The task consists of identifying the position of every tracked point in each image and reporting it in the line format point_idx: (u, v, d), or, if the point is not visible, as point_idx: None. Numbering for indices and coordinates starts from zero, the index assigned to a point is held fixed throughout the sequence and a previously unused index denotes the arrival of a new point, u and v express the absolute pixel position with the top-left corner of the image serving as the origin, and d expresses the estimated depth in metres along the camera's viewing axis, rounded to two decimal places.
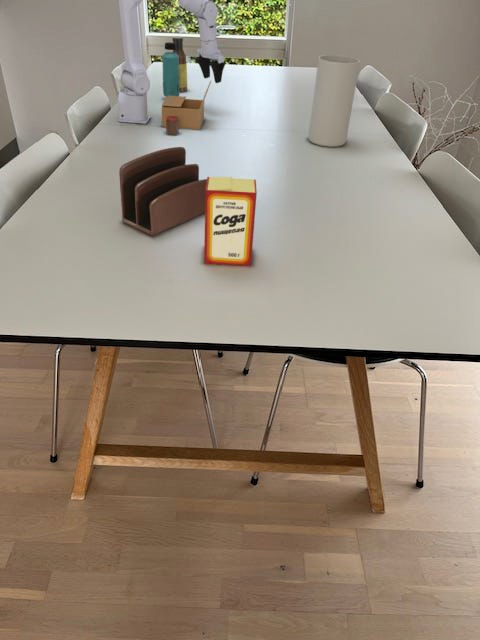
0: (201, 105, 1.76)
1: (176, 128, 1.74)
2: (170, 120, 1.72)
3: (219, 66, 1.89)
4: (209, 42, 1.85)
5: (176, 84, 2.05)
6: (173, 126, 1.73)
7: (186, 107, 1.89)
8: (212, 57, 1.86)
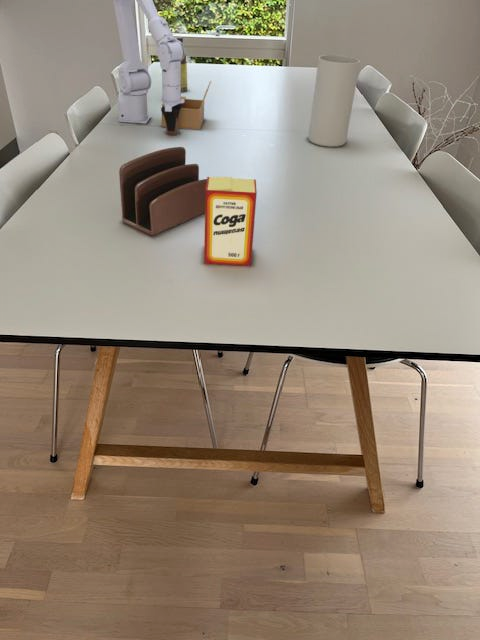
0: (201, 105, 1.76)
1: (176, 128, 1.74)
2: None
3: (172, 114, 1.70)
4: (166, 87, 1.65)
5: None
6: None
7: (186, 107, 1.89)
8: (164, 103, 1.66)
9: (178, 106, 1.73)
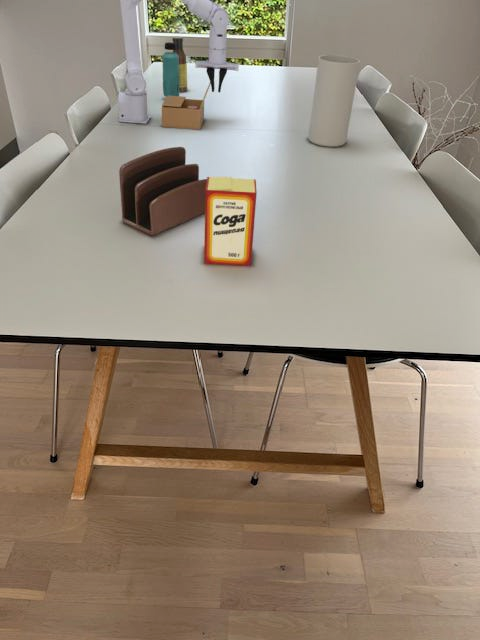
0: (201, 105, 1.76)
1: None
2: None
3: None
4: None
5: (176, 84, 2.05)
6: None
7: (186, 107, 1.89)
8: None
9: (219, 72, 1.81)
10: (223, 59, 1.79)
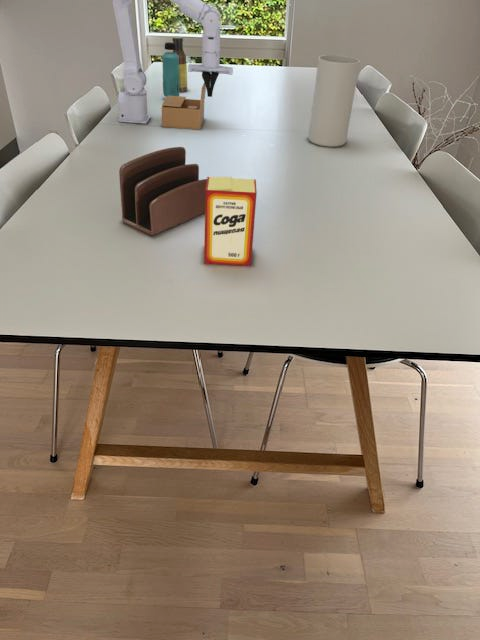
0: (200, 105, 1.76)
1: None
2: None
3: None
4: None
5: (176, 84, 2.05)
6: None
7: (186, 107, 1.89)
8: None
9: (210, 76, 1.75)
10: (216, 63, 1.73)
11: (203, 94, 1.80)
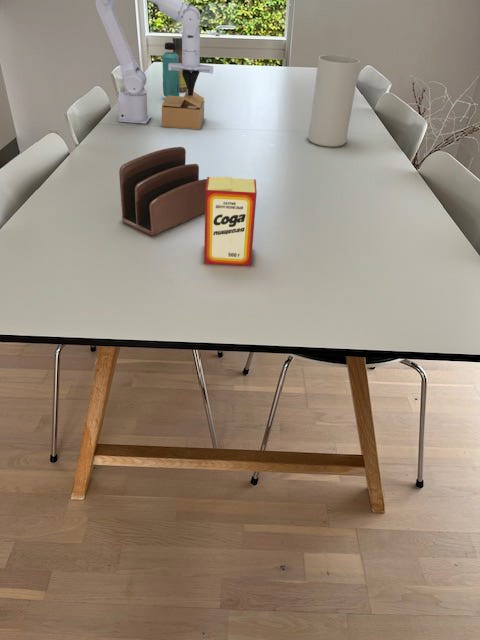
0: (197, 106, 1.76)
1: None
2: None
3: None
4: None
5: (176, 84, 2.05)
6: None
7: (186, 107, 1.89)
8: None
9: None
10: (196, 61, 1.73)
11: (194, 98, 1.81)
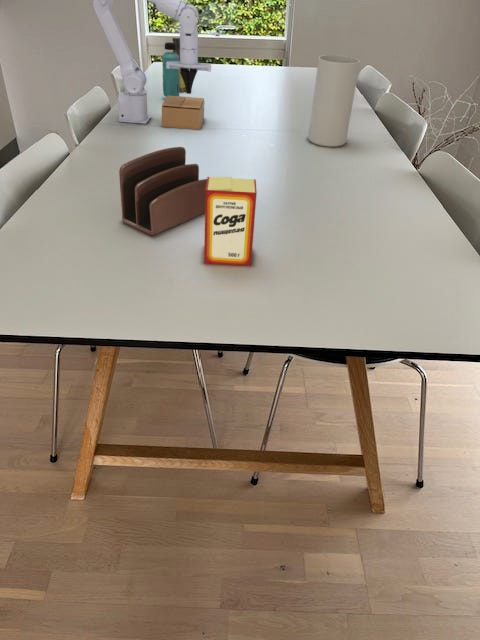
0: (197, 107, 1.77)
1: None
2: None
3: None
4: None
5: (176, 84, 2.05)
6: None
7: None
8: None
9: None
10: (194, 59, 1.72)
11: (193, 102, 1.81)
